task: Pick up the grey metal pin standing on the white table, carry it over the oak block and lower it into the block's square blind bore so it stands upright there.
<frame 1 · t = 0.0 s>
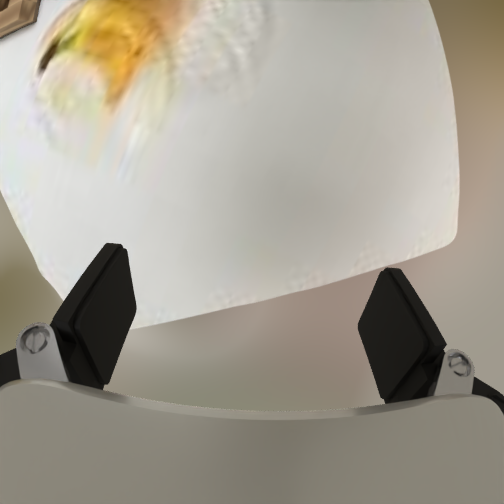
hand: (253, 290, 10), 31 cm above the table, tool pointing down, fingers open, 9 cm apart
bore block: (19, 4, 19), on the table
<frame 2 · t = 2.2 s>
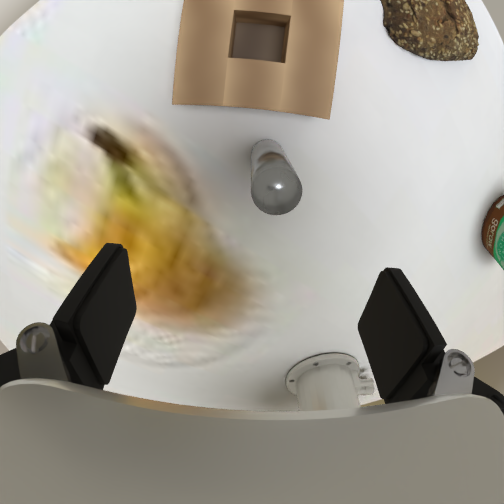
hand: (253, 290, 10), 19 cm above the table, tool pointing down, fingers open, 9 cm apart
bore block: (258, 46, 20), on the table
food container: (489, 228, 30), on the table
bread roll: (424, 10, 17), on the table
pin: (267, 154, 26), on the table
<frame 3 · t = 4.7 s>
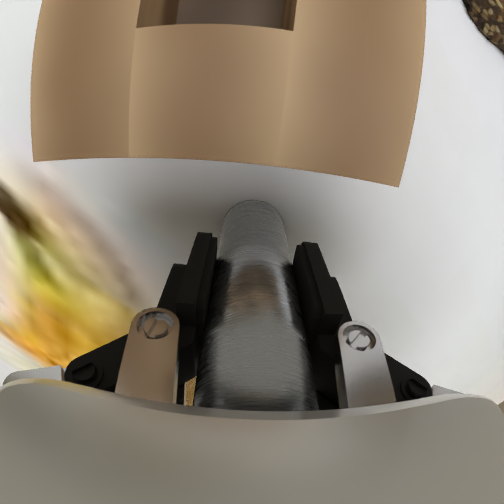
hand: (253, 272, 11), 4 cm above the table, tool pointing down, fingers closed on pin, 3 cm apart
bore block: (232, 9, 9), on the table
pin: (252, 228, 14), on the table, touching gripper
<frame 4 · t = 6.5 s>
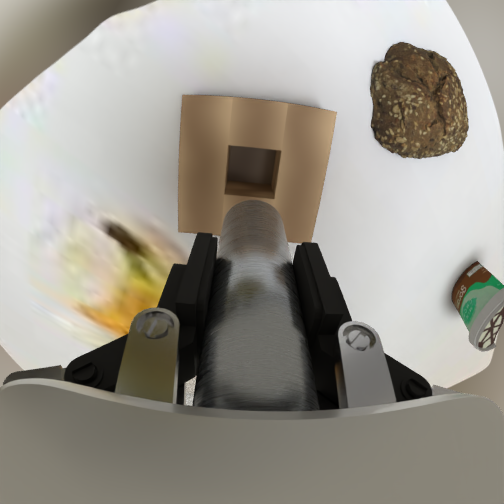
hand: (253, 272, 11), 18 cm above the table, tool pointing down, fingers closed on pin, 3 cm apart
bore block: (251, 159, 27), on the table
food container: (460, 289, 36), on the table
bread roll: (416, 99, 23), on the table
pin: (252, 228, 14), point 15 cm above the table, touching gripper
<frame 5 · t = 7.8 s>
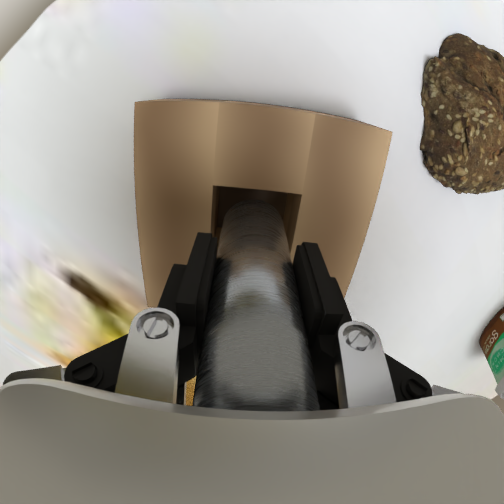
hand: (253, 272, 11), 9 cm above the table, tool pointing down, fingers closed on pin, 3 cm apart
bore block: (252, 194, 18), on the table
food container: (488, 331, 28), on the table
bread roll: (473, 112, 15), on the table
pin: (252, 227, 14), point 5 cm above the table, touching gripper
when the fingers open (6 cm above the table, at t = 8.5 s): pin drops 1 cm, resting on bore block.
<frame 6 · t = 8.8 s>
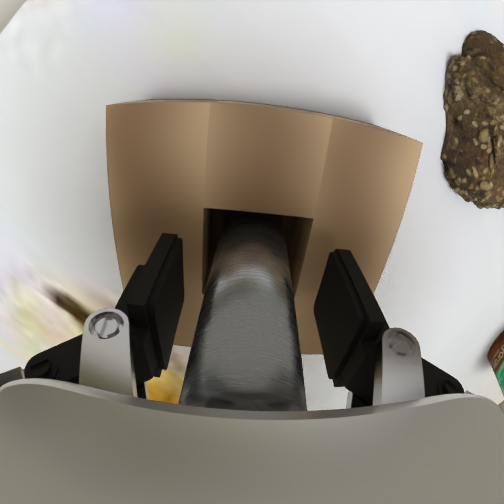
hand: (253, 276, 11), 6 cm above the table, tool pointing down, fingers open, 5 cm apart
bore block: (252, 210, 16), on the table
food container: (497, 344, 26), on the table
bread roll: (496, 118, 12), on the table
pin: (253, 220, 15), point 1 cm above the table, touching bore block
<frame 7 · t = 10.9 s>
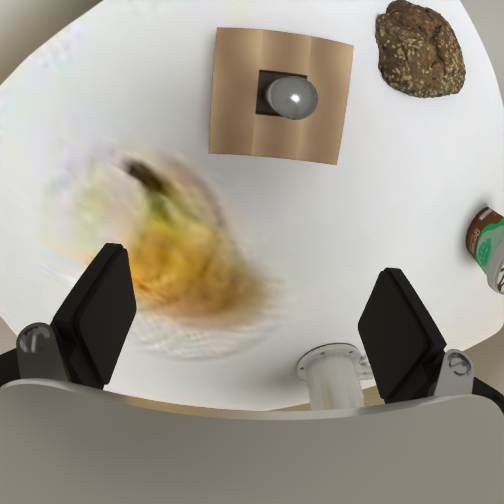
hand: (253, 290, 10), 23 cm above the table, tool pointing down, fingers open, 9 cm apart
bore block: (275, 93, 26), on the table
food container: (473, 235, 36), on the table
bread roll: (417, 48, 22), on the table
pin: (277, 93, 25), point 1 cm above the table, touching bore block
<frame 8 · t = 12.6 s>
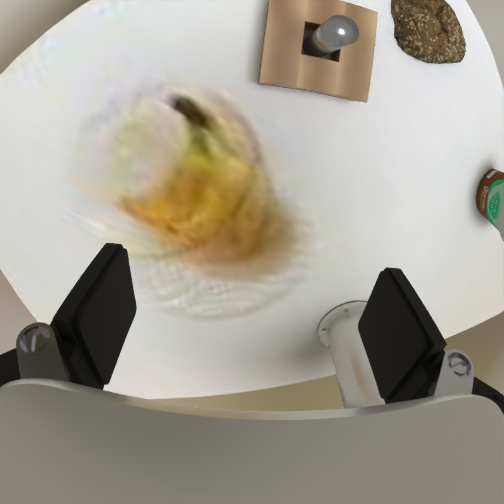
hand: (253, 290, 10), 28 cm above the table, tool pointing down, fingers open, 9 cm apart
bore block: (312, 47, 27), on the table
food container: (482, 195, 37), on the table
bread roll: (424, 25, 24), on the table
pin: (315, 47, 26), point 1 cm above the table, touching bore block
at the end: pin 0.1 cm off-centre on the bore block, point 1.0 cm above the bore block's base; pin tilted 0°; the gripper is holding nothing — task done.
